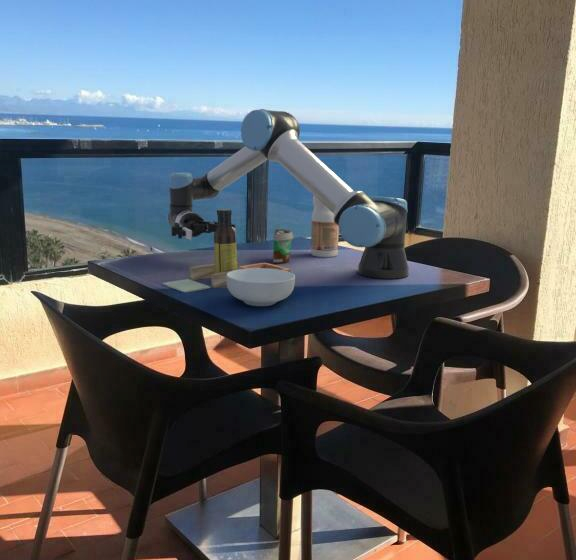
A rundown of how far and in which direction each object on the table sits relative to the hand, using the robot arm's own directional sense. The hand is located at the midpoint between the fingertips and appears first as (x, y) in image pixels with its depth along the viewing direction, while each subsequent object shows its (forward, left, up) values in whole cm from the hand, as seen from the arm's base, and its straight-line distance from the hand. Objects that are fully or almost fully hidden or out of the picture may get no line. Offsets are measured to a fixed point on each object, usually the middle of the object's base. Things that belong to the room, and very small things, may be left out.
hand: (213, 234), depth 175 cm
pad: (-10, +16, -11) cm, 22 cm away
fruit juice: (-1, -46, -12) cm, 48 cm away
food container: (-1, -27, -12) cm, 30 cm away
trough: (-10, +3, -11) cm, 15 cm away
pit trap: (-10, -12, -11) cm, 19 cm away
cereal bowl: (-34, +10, -12) cm, 37 cm away
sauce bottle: (-10, +3, -12) cm, 15 cm away
